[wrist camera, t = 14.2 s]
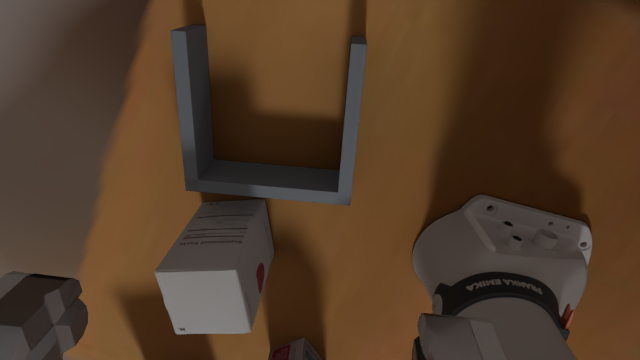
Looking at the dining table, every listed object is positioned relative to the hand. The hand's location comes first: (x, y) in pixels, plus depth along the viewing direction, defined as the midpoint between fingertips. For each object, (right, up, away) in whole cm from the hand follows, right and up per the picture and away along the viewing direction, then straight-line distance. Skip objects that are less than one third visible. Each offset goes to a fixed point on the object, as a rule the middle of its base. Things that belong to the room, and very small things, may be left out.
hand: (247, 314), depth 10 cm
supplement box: (-9, -3, +46) cm, 47 cm away
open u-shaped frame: (-3, +12, +38) cm, 40 cm away
